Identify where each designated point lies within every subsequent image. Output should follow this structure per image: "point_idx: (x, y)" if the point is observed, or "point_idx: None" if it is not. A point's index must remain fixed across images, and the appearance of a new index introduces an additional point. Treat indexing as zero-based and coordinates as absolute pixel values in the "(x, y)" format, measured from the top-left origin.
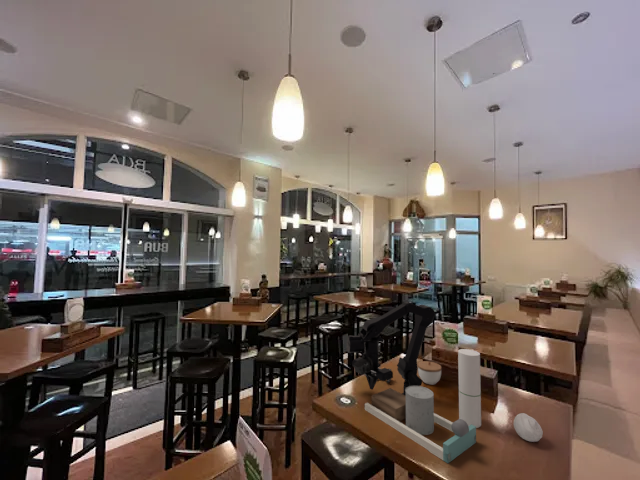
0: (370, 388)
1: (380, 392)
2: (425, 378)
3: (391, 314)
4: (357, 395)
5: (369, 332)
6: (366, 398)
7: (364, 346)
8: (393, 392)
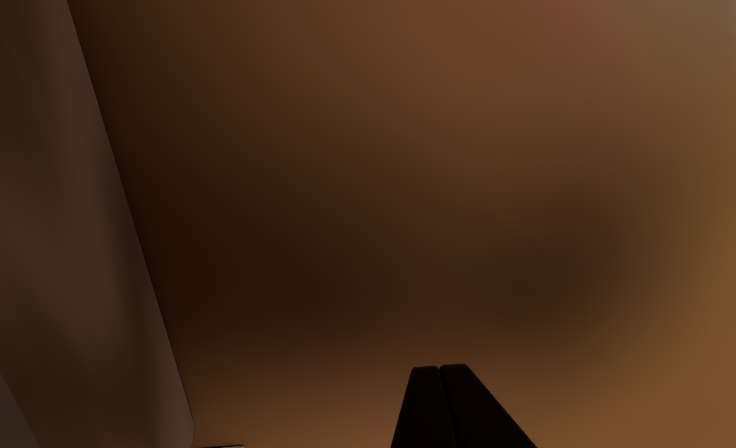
0: (448, 376)
1: (7, 436)
2: None
3: None
4: (710, 99)
5: None
6: (495, 175)
7: None
8: None
